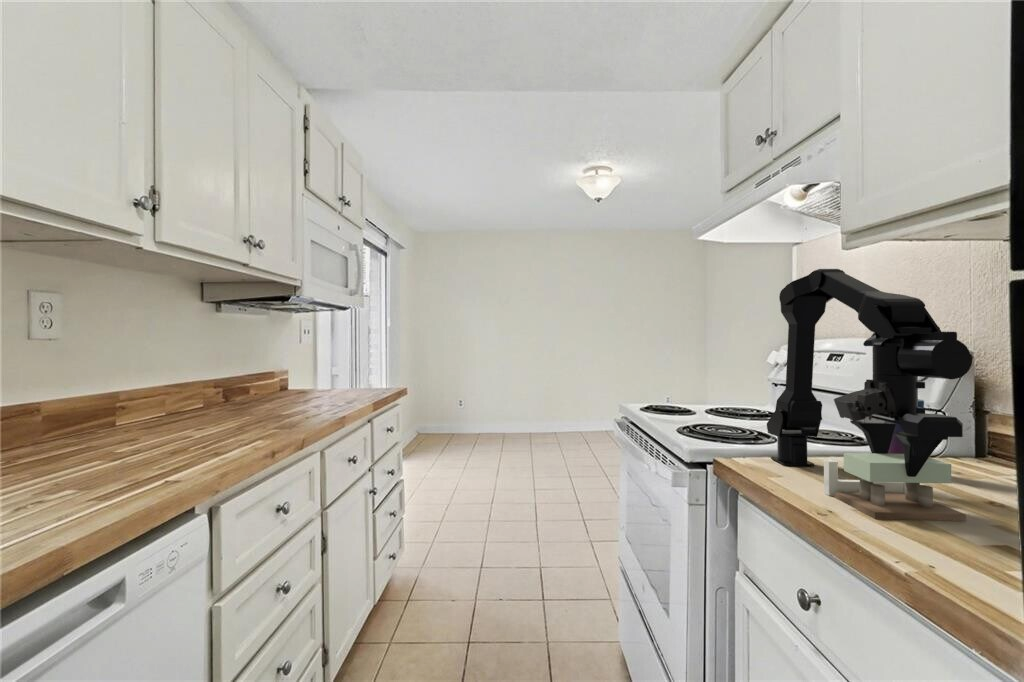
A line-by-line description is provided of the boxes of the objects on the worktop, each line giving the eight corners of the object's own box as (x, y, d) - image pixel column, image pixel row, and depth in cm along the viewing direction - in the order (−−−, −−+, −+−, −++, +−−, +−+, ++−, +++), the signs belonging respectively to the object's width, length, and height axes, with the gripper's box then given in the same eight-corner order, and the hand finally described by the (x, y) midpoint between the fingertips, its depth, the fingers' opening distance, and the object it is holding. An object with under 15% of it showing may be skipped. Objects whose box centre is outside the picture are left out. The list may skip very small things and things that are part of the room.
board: (918, 471, 79) (918, 454, 79) (951, 483, 73) (951, 464, 73) (843, 470, 80) (843, 453, 80) (870, 482, 74) (869, 462, 74)
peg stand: (834, 497, 82) (834, 474, 82) (913, 498, 81) (913, 475, 81) (875, 518, 72) (874, 492, 72) (965, 520, 71) (965, 494, 71)
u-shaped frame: (824, 493, 84) (823, 459, 84) (906, 494, 83) (906, 460, 83) (829, 495, 83) (828, 461, 83) (913, 497, 82) (913, 462, 82)
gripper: (810, 370, 86) (810, 455, 86) (883, 378, 68) (884, 487, 68) (874, 371, 86) (874, 456, 86) (966, 379, 67) (966, 488, 67)
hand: (894, 470), depth 76 cm, fingers closed on board, 6 cm apart
